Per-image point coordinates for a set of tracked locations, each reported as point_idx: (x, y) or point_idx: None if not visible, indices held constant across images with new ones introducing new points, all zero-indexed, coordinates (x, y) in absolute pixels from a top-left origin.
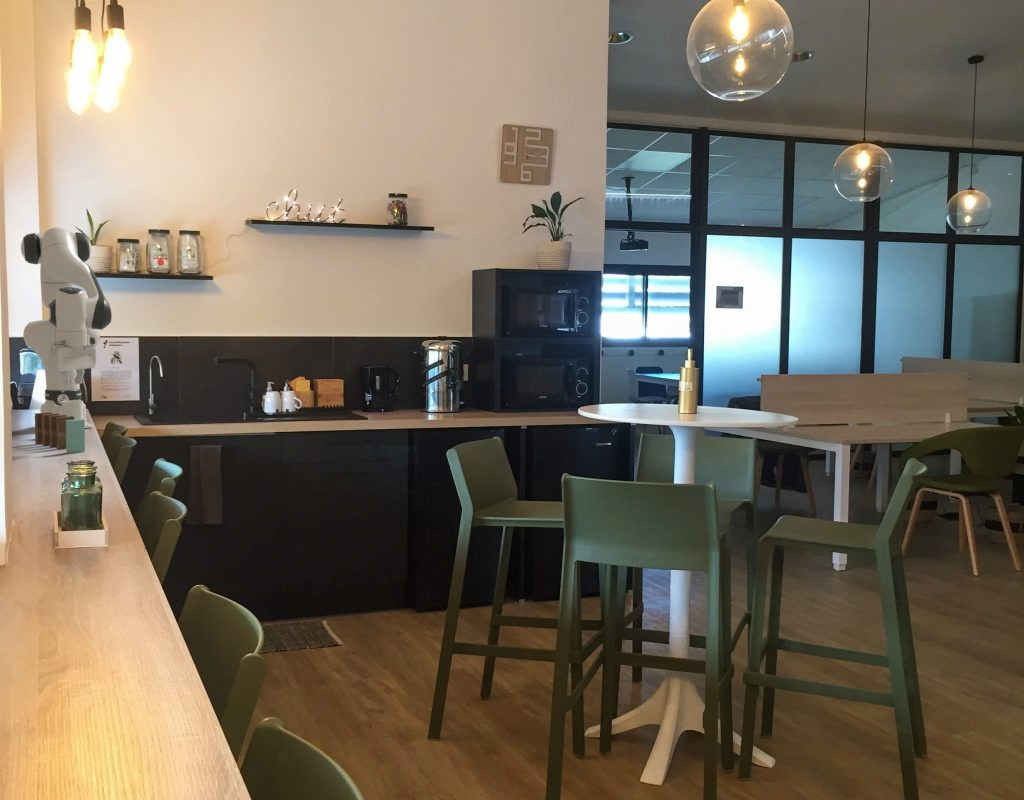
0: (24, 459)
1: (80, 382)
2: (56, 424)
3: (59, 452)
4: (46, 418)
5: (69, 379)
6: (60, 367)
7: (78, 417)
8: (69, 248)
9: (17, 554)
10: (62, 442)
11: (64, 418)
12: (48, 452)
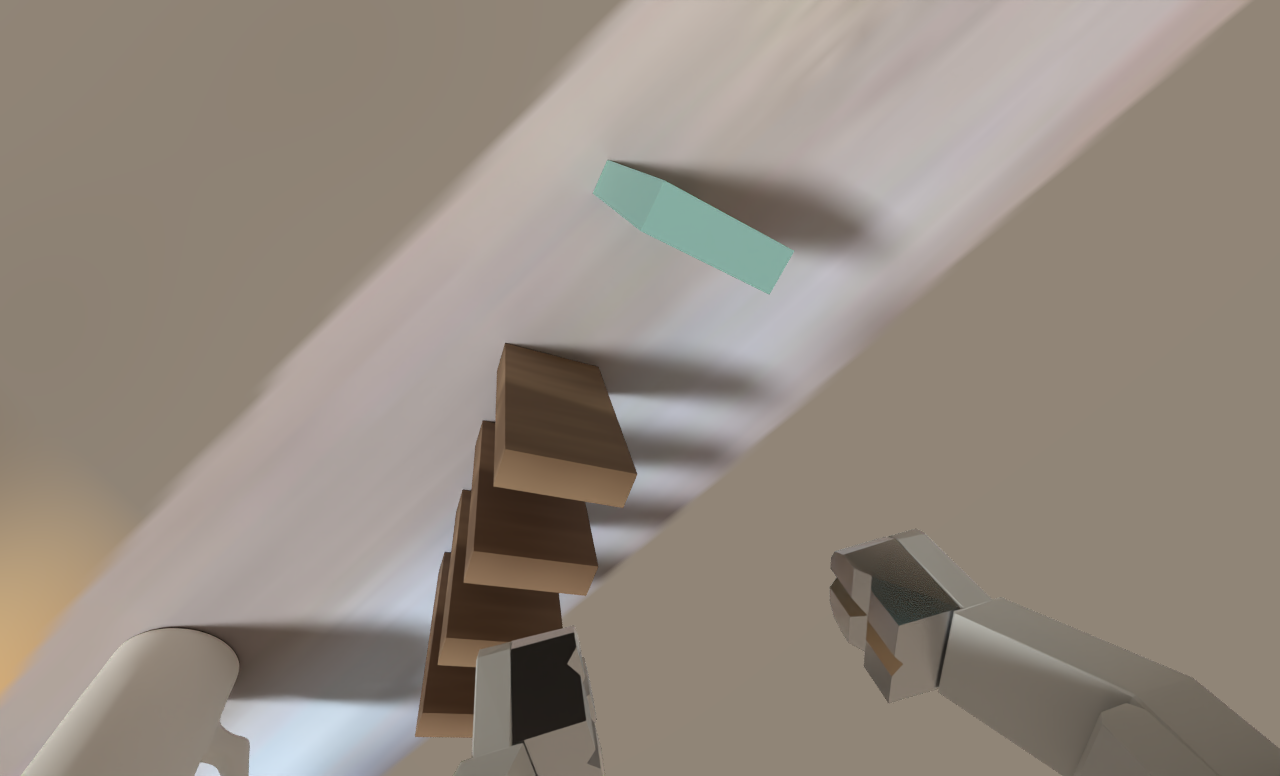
0: (942, 257)
1: (542, 643)
2: (554, 518)
3: (693, 279)
4: (546, 624)
5: (962, 612)
6: None
7: (99, 744)
8: None
9: None
10: (585, 379)
11: (590, 460)
12: (715, 330)
